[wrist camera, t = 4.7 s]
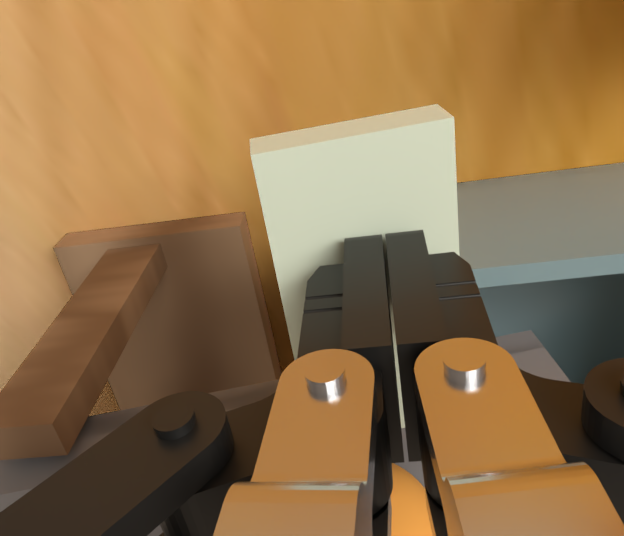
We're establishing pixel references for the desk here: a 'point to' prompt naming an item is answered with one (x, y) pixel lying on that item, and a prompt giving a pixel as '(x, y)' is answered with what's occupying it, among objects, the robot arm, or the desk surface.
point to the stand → (141, 328)
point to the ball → (408, 505)
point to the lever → (331, 240)
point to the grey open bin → (551, 259)
